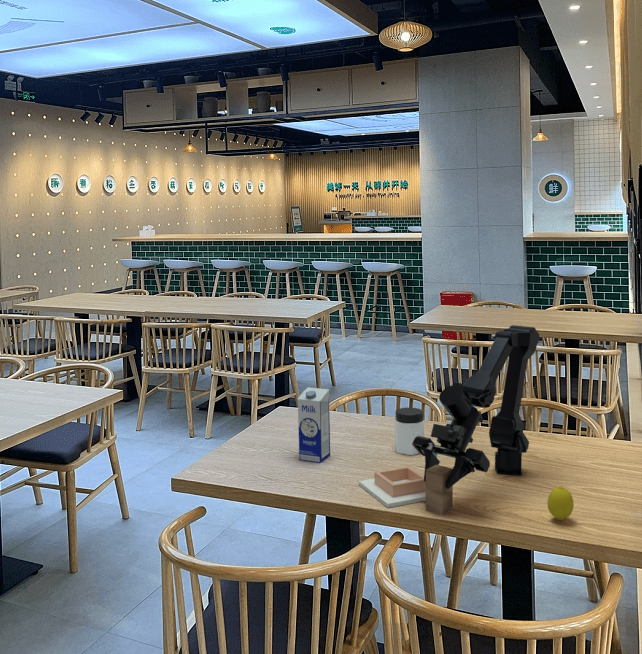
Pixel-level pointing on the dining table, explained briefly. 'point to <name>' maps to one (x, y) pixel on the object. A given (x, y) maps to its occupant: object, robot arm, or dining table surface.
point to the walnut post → (438, 490)
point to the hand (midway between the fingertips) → (435, 484)
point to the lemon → (560, 503)
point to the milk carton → (314, 425)
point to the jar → (408, 429)
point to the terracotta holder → (396, 486)
